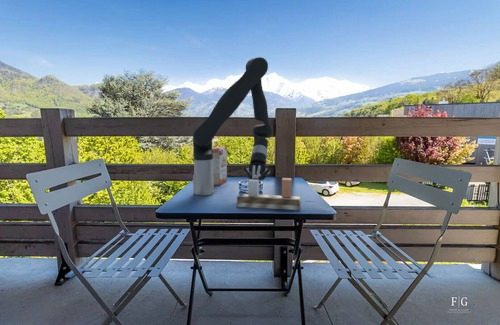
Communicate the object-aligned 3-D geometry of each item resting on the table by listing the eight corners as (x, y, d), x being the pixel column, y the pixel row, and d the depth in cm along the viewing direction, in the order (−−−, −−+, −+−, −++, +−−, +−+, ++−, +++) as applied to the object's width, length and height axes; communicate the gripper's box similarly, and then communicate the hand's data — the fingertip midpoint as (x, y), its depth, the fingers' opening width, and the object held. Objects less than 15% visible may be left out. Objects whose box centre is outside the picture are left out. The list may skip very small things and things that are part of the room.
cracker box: (220, 185, 152) (219, 148, 149) (210, 185, 153) (209, 148, 150) (227, 180, 165) (227, 146, 162) (218, 180, 167) (217, 146, 164)
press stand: (236, 206, 115) (236, 197, 114) (244, 196, 129) (244, 188, 129) (299, 210, 110) (299, 200, 109) (300, 199, 124) (300, 191, 124)
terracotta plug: (281, 197, 121) (281, 179, 120) (282, 194, 125) (282, 177, 124) (290, 197, 120) (291, 180, 119) (291, 195, 124) (291, 178, 123)
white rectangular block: (248, 199, 119) (248, 181, 117) (250, 196, 122) (250, 179, 121) (257, 199, 118) (257, 181, 117) (258, 197, 122) (258, 179, 120)
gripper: (244, 151, 130) (238, 182, 120) (272, 151, 128) (268, 183, 118) (246, 160, 136) (241, 190, 126) (273, 161, 134) (269, 192, 124)
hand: (254, 187), depth 122 cm, fingers closed
